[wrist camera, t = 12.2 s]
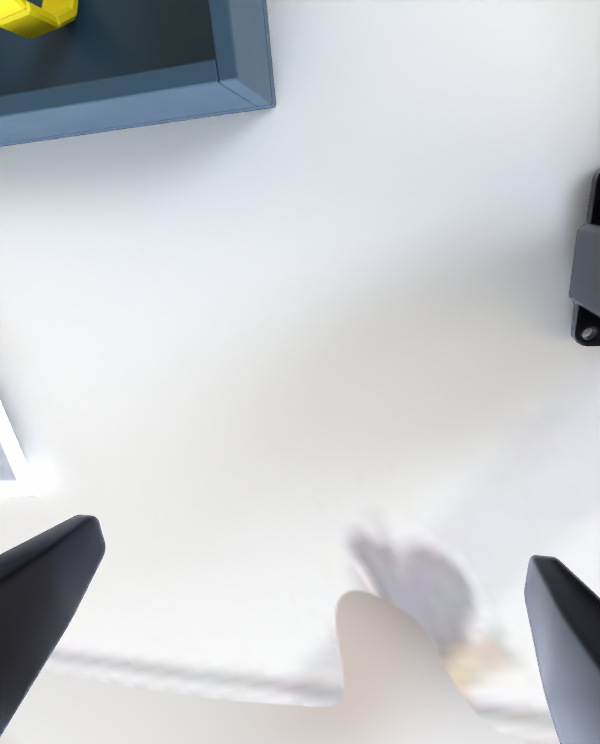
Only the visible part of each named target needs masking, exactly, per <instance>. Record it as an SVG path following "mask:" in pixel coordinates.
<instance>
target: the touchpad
mask: <svg viewBox="0 0 600 744" xmlns="http://www.w3.org/2000/svg"><path fill="white" fill-rule="evenodd" d="M0 496H40V494H39V491H38V489H37V486H36V484H35V482H34V479H33V477H32V475H31V472H30V470H29V467H28V465H27V463H26V460H25V458H24V455H23V453H22V451H21V448H20V446H19V443H18V441H17V439H16V436H15V434H14V431H13V429H12V427H11V424H10V422H9V419H8V417H7V415H6V412H5V410H4V408H3V405H2V403H1V400H0Z"/></svg>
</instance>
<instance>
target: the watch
mask: <svg viewBox="0 0 600 744" xmlns="http://www.w3.org/2000/svg"><path fill="white" fill-rule="evenodd" d="M78 1H79V0H43V3H42V8H40V7H38V6H36V5H34V4H32V3H30V2H28V1H26V0H0V27H1V28H3V29H6V30H8V31H11V32H13V33H15V34H18V35H20V36H22V37H25V38H31V39H32V38H35V37H37V36H40V35H42V34H45V33H48V32H50V31H53V30H56V29H58V28H61V27H63V26H64V25H66V24H68V23H70V22H72V21H74V20H75V17H77V10H78Z"/></svg>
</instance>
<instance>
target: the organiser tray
mask: <svg viewBox="0 0 600 744" xmlns="http://www.w3.org/2000/svg"><path fill="white" fill-rule="evenodd" d="M26 1H28V2H30V3H32V4H34V5H36V6H38V7H40V8H42V3H43V0H26ZM275 106H276V101H275V90H274V80H273V69H272V58H271V48H270V37H269V27H268V16H267V6H266V0H79V1H78V10H77V17H75V20H74V21H72V22H70V23H68V24H66V25H64V26H63V27H61V28H58V29H56V30H53V31H50V32H48V33H45V34H42V35H40V36H37V37H35V38H32V39H31V38H25V37H22V36H20V35H18V34H15V33H13V32H11V31H8V30H6V29H3V28H1V27H0V146H7V145H14V144H21V143H28V142H35V141H42V140H49V139H56V138H63V137H70V136H77V135H84V134H91V133H98V132H105V131H112V130H119V129H126V128H133V127H140V126H147V125H154V124H161V123H168V122H175V121H182V120H189V119H196V118H203V117H210V116H217V115H224V114H231V113H238V112H245V111H252V110H259V109H266V108H273V107H275Z"/></svg>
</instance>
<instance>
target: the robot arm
mask: <svg viewBox="0 0 600 744" xmlns="http://www.w3.org/2000/svg"><path fill="white" fill-rule="evenodd" d="M569 297H570V298H571V299H572V300H573V301H574V302H575V308H574V315H573V322H572V329H571V335H572V337H573V339H574V340H575V341H576V342H577V343H579V344H581V345H583V346H600V169H599V170H598V171H597V172H596V174H595V175H594V177H593V180H592V185H591V192H590V199H589V207H588V214H587V221H586V224H584V225H583V226H582V227H581V228H580V229H579V230H578V231H577V238H576V245H575V253H574V260H573V268H572V276H571V283H570V291H569ZM590 327H591V328H592V330H593V331H592V333H591V334H590V335H589V336H587V337H582V333H583V331H584V330H585V329H586V328H590ZM104 552H105V541H104V538H103V534H102V531H101V527H100V524H99V521H98V519H97V518H96V517H94V516H90V515H76V516H74V517H72V518H70V519H68V520H66V521H64V522H63V523H61V524H59V525H57V526H55V527H53V528H51V529H49V530H47V531H45V532H43V533H41V534H39V535H37V536H35V537H33V538H32V539H30V540H28V541H26V542H24V543H22V544H20V545H18V546H16V547H14V548H12V549H10V550H8V551H6V552H4V553H2V554H1V555H0V736H1V735H2V733H3V731H4V730H5V728H6V726H7V725H8V723H9V722H10V720H11V718H12V717H13V715H14V713H15V712H16V710H17V709H18V707H19V705H20V704H21V702H22V700H23V699H24V697H25V696H26V694H27V692H28V691H29V689H30V687H31V686H32V684H33V682H34V681H35V679H36V677H37V676H38V674H39V673H40V671H41V669H42V668H43V666H44V664H45V663H46V661H47V660H48V658H49V656H50V655H51V653H52V651H53V650H54V648H55V646H56V645H57V643H58V642H59V640H60V638H61V637H62V635H63V633H64V632H65V630H66V628H67V627H68V625H69V623H70V621H71V619H72V618H73V616H74V614H75V612H76V610H77V608H78V606H79V604H80V602H81V600H82V598H83V596H84V594H85V592H86V590H87V588H88V586H89V584H90V582H91V580H92V578H93V576H94V574H95V572H96V570H97V568H98V566H99V564H100V562H101V560H102V558H103V555H104ZM525 602H526V607H527V612H528V617H529V622H530V627H531V632H532V636H533V641H534V646H535V651H536V656H537V661H538V666H539V671H540V675H541V680H542V684H543V689H544V693H545V696H546V700H547V703H548V707H549V710H550V713H551V716H552V719H553V723H554V726H555V729H556V732H557V735H558V738H559V742H560V744H600V598H599V597H598V596H597V595H596V594H595V593H594V592H593V591H592V590H591V589H590V588H589V587H588V586H586V585H585V584H584V583H583V582H582V581H581V580H580V579H579V578H578V577H577V576H576V575H575V574H574V573H573V572H571V571H570V570H569V569H568V568H567V567H566V566H565V565H564V564H563V563H562V562H561V561H560V560H558V559H557V558H555V557H550V556H539V555H534V556H532V557H531V558H530V560H529V565H528V571H527V577H526V583H525Z"/></svg>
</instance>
